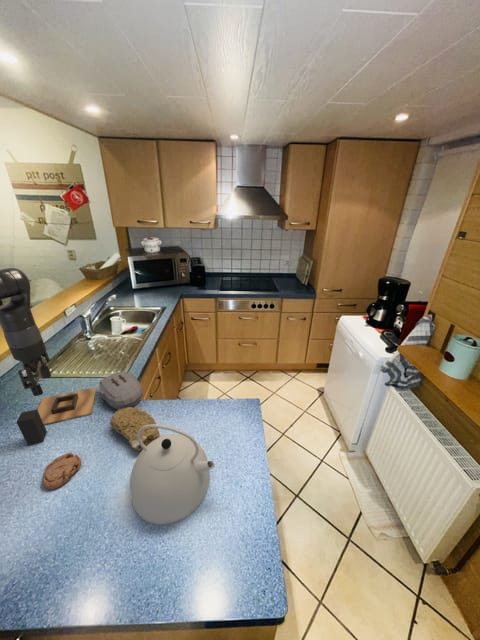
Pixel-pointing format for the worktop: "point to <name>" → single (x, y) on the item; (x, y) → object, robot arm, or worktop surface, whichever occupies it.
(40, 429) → the black block
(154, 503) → the kettle
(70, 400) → the base pad
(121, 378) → the grey rounded bag
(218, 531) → the worktop surface
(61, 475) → the cookie
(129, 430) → the sponge
